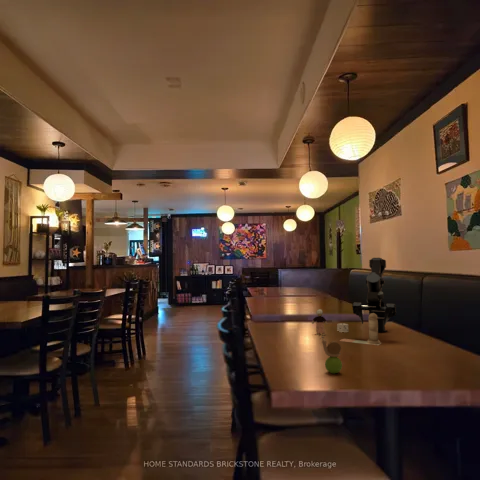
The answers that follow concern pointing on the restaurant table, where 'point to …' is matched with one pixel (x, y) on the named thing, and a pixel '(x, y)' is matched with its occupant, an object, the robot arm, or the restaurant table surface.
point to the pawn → (373, 329)
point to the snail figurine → (332, 356)
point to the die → (342, 327)
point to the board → (356, 341)
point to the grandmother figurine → (320, 322)
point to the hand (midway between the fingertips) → (373, 323)
